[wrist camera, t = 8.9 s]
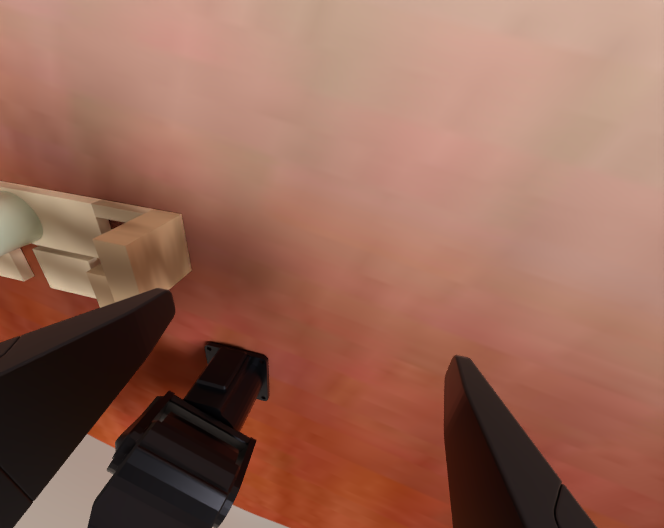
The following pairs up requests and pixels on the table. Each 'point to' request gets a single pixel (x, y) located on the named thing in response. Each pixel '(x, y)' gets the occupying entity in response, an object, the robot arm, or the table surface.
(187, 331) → the table surface
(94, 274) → the broken strip
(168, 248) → the beige long blocky piece
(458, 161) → the table surface
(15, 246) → the mint rounded cylinder
